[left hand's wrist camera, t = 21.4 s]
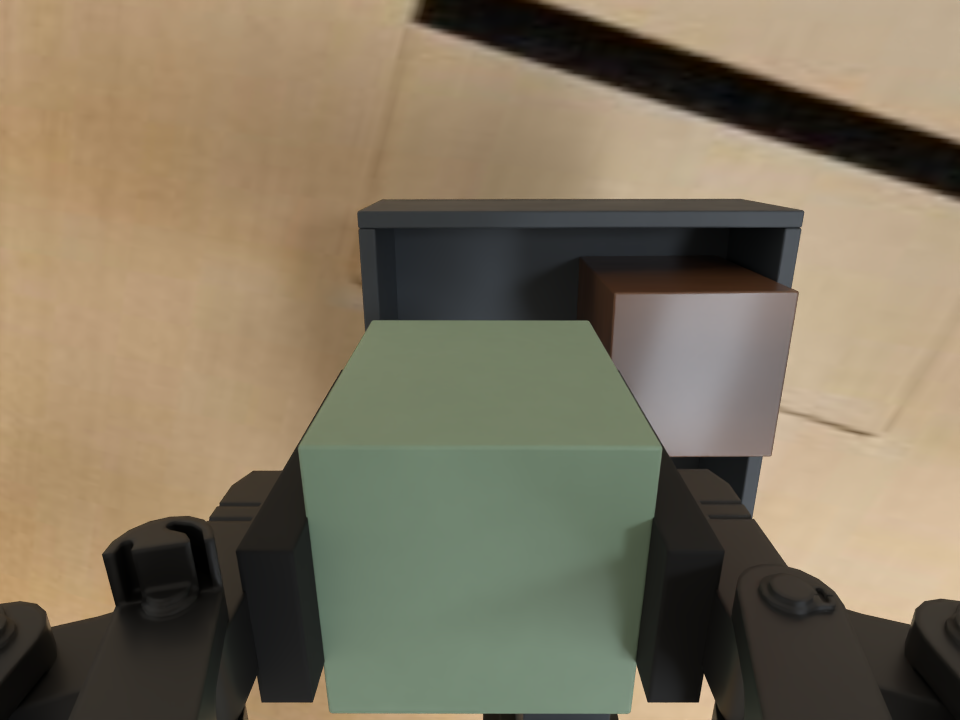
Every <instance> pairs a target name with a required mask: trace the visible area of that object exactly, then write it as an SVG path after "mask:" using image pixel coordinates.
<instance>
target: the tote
mask: <svg viewBox="0 0 960 720" xmlns="http://www.w3.org/2000/svg"><path fill="white" fill-rule="evenodd" d="M357 215H358V227H359V228H360V229H359V245H360V260H361V275H362V291H363V306H364V321H365V332H366V330H367V329H368V327H369V325H370V323H371V322H372V321H373V320H502V321H577V301H578V279H579V258H580V257H581V256H687V255H717V256H719V257H721V258H723V259H726V260H728V261H730V262H732V263H735V264H737V265H739V266H742V267H744V268H746V269H748V270H751V271H753V272H755V273H757V274H760V275H762V276H764V277H767V278H769V279H771V280H773V281H776V282H778V283H780V284H782V285H785V286H787V287H789V288H791V287H792V281H793V275H794V269H795V263H796V258H797V252H798V246H799V240H800V234H801V228H800V227H802V222H803V216H804V211H803V210H798V209H793V208H787V207H782V206H776V205H771V204H765V203H760V202H754V201H749V200H743V199H420V200H380V201H378V202H376V203H374V204H372V205H370V206H368V207H366V208H364V209H362V210H360V211H358V213H357ZM762 457H763V456H745V457H670V458H671V460H672V461H673V463H674V465H675V467H676V468H677V469H708V470H710V471H711V472H713V473H714V474H716V475H717V476H718V477H720V478H721V479H723V480H724V481H726V482H727V483H729V484H730V486H731V487H732V489H733V490H734V492H735V493H736V494H737V496H738V497H739V499H740V500H741V504H744V506H745V507H746V508H747V510H748V511H749V513H750V514H751V518H752V516H753V510H754V504H755V498H756V492H757V486H758V481H759V475H760V469H761V463H762ZM515 718H516V720H610V714H515Z"/></svg>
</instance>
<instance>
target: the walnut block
mask: <svg viewBox="0 0 960 720" xmlns="http://www.w3.org/2000/svg"><path fill="white" fill-rule="evenodd" d="M798 294H799V292H798V291H796V290H794V289H791V288H789V287H787V286H785V285H782V284H780V283H778V282H776V281H773V280H771V279H769V278H767V277H764V276H762V275H760V274H757V273H755V272H753V271H751V270H748V269H746V268H744V267H742V266H739V265H737V264H735V263H732V262H730V261H728V260H726V259H723V258H721V257H719V256H717V255H687V256H581V257H580V258H579V279H578V301H577V321H589V322H590V324H591V325H592V327H593V329H594V330H595V332H596V334H597V336H598V337H599V339H600V341H601V343H602V344H603V346H604V348H605V349H606V351H607V353H608V355H609V356H610V358H611V360H612V361H613V363H614V365H615V367H616V368H617V370H619V371H620V373H621V374H622V376H623V378H624V380H625V381H626V383H627V385H628V386H629V388H630V390H631V392H632V393H633V395H634V397H635V398H636V400H637V402H638V403H639V405H640V407H641V409H642V410H643V412H644V414H645V415H646V417H647V419H648V421H649V422H650V424H651V426H652V427H653V429H654V431H655V432H656V434H657V436H658V438H659V439H660V441H661V443H662V444H663V446H664V448H665V449H666V451H667V453H668V455H669V456H670V457H745V456H771V455H772V449H773V443H774V437H775V431H776V425H777V419H778V413H779V407H780V401H781V395H782V389H783V384H784V378H785V372H786V366H787V360H788V354H789V348H790V342H791V336H792V330H793V324H794V318H795V312H796V306H797V300H798Z"/></svg>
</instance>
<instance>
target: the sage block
mask: <svg viewBox="0 0 960 720" xmlns="http://www.w3.org/2000/svg"><path fill="white" fill-rule="evenodd" d="M298 452H299V461H300V469H301V477H302V486H303V494H304V503H305V511H306V517H308V524H309V533H310V541H311V550H312V558H313V567H314V575H315V584H316V592H317V601H318V609H319V617H320V626H321V634H322V643H323V651H324V660H325V662H324V672H325V680H326V688H327V697H328V705H329V711H330V712H331V713H468V714H628V713H630V712H631V705H632V697H633V689H634V680H635V672H636V656H637V647H638V639H639V631H640V622H641V614H642V605H643V597H644V589H645V580H646V572H647V563H648V555H649V547H650V538H651V530H652V521H653V518H654V515H655V506H656V498H657V490H658V481H659V473H660V465H661V457H662V446H661V444H660V442H659V441H658V439H657V437H656V436H655V434H654V432H653V430H652V429H651V427H650V425H649V424H648V422H647V420H646V418H645V417H644V415H643V413H642V411H641V410H640V408H639V406H638V405H637V403H636V401H635V399H634V398H633V396H632V394H631V393H630V391H629V389H628V387H627V386H626V384H625V382H624V380H623V379H622V377H621V375H620V374H619V372H618V370H617V368H616V367H615V365H614V363H613V361H612V360H611V358H610V356H609V355H608V353H607V351H606V349H605V348H604V346H603V344H602V343H601V341H600V339H599V337H598V336H597V334H596V332H595V330H594V329H593V327H592V325H591V324H590V322H589V321H502V320H373V321H372V322H371V323H370V325H369V327H368V329H367V330H366V332H365V334H364V335H363V337H362V339H361V340H360V342H359V344H358V346H357V347H356V349H355V351H354V352H353V354H352V356H351V358H350V359H349V361H348V363H347V364H346V366H345V368H344V369H343V371H342V373H341V375H340V376H339V378H338V380H337V381H336V383H335V385H334V387H333V388H332V390H331V392H330V393H329V395H328V397H327V398H326V400H325V402H324V404H323V405H322V407H321V409H320V410H319V412H318V414H317V416H316V417H315V419H314V421H313V422H312V424H311V426H310V427H309V429H308V431H307V433H306V434H305V436H304V438H303V439H302V441H301V443H300V445H299V447H298Z"/></svg>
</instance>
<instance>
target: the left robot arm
mask: <svg viewBox="0 0 960 720" xmlns="http://www.w3.org/2000/svg"><path fill="white" fill-rule="evenodd" d="M342 371H343V370H341V372H340V374H339V375H338V377H337V379H336V380H335V382H334V384H333V386H332V387H331V389H330V391H329V392H328V394H327V396H326V397H325V399H324V401H323V403H322V404H321V406H320V408H319V409H318V411H317V413H316V415H315V416H314V418H313V420H312V421H311V423H310V425H309V426H308V428H307V430H306V432H305V433H304V435H303V437H302V438H301V440H300V442H299V443H298V445H297V447H296V449H295V450H294V452H293V454H292V455H291V457H290V459H289V461H288V462H287V464H286V466H285V467H284V469H283V471H252V472H251V473H249V474H248V475H247V476H245V477H244V478H242V479H241V480H239V481H238V482H236V483H235V484H234V485H232V486H231V488H230V489H229V490H228V492H227V493H226V495H225V496H224V498H223V499H222V500H221V502H220V506H217V507H216V509H215V510H214V512H213V513H212V515H211V516H210V517H209V518H210V519H209V521H207V522H206V521H205V520H203V519H199V518H195V517H191V516H178V517H167V518H163V519H158V520H154V521H150V522H147V523H145V524H142V525H140V526H138V527H135V528H133V529H131V530H129V531H127V532H126V533H124V534H123V535H121V536H120V537H119V538H117V539H116V540H114V541H113V542H112V543H111V544H110V545H109V547H108V548H107V549H106V550H105V551H104V553H103V554H102V556H103V560H104V564H105V567H106V571H107V575H108V579H109V582H110V586H111V590H112V594H113V597H114V601H115V605H116V607H115V609H114V612H112V613H109V614H105V615H102V616H98V617H94V618H89V619H85V620H80V621H76V622H72V623H67V624H63V625H58V626H54V627H51V626H50V623H49V620H48V617H47V614H46V611H44V610H43V609H42V608H41V607H40V606H39V605H38V604H35V603H28V602H22V601H18V602H11V603H3V604H0V720H248V715H247V710H246V704H245V703H246V701H247V698H248V696H249V693H250V691H251V688H252V686H253V684H254V681H255V679H256V676H257V678H258V684H259V690H260V696H261V701H262V702H313V700H314V696H315V693H316V690H317V686H318V683H319V679H320V676H321V673H322V669H323V666H324V662H325V660H324V651H323V643H322V634H321V626H320V617H319V609H318V601H317V592H316V584H315V575H314V567H313V558H312V550H311V541H310V533H309V524H308V517H306V511H305V503H304V494H303V486H302V477H301V469H300V461H299V452H298V447H299V445H300V443H301V441H302V439H303V438H304V436H305V434H306V433H307V431H308V429H309V427H310V426H311V424H312V422H313V421H314V419H315V417H316V416H317V414H318V412H319V410H320V409H321V407H322V405H323V404H324V402H325V400H326V398H327V397H328V395H329V393H330V392H331V390H332V388H333V387H334V385H335V383H336V381H337V380H338V378H339V376H340V375H341V373H342ZM618 372H619V374H620V375H621V377H622V379H623V380H624V378H623V376H622V374H621V373H620V371H619V370H618ZM624 382H625V384H626V386H627V387H628V389H629V391H630V393H631V394H632V396H633V398H634V399H635V401H636V403H637V405H638V406H639V408H640V410H641V411H642V413H643V415H644V417H645V418H646V420H647V422H648V424H649V425H650V427H651V429H652V430H653V432H654V434H655V436H656V437H657V439H658V441H659V442H660V444H661V446H662V457H661V465H660V473H659V481H658V490H657V498H656V506H655V515H654V518H653V521H652V530H651V538H650V547H649V555H648V563H647V572H646V580H645V589H644V597H643V605H642V614H641V622H640V631H639V639H638V647H637V656H636V664H637V668H638V671H639V674H640V678H641V681H642V685H643V688H644V691H645V695H646V698H647V702H699V698H700V692H701V687H702V681H703V675H705V677H706V679H707V682H708V684H709V687H710V689H711V691H712V694H713V696H714V699H715V704H714V710H713V715H712V720H960V601H955V600H947V599H936V600H930V601H924V602H923V603H922V604H921V605H920V606H919V607H917V608H916V609H915V612H914V615H913V619H912V622H911V625H909V624H905V623H901V622H896V621H892V620H887V619H883V618H878V617H874V616H869V615H865V614H861V613H857V612H854V611H851V610H847V609H846V608H845V606H844V604H843V603H842V602H841V600H840V599H839V597H838V596H837V594H836V593H835V592H834V591H833V590H832V589H831V588H829V587H828V586H827V585H826V584H824V583H823V582H822V581H820V580H819V579H817V578H815V577H813V576H811V575H809V574H807V573H805V572H803V571H801V570H798V569H794V568H791V567H788V566H787V565H786V563H785V562H784V560H783V559H782V558H781V556H780V555H779V553H778V552H777V551H776V549H775V548H774V546H773V545H772V544H771V542H770V541H769V539H768V538H767V537H766V535H765V534H764V532H763V531H762V530H761V528H760V527H759V525H758V524H757V522H756V521H755V520H754V519H752V518H751V514H750V513H749V511H748V510H747V508H746V507H745V506H744V504H741V500H740V499H739V497H738V496H737V494H736V493H735V492H734V490H733V489H732V487H731V486H730V484H729V483H727V482H726V481H724V480H723V479H721V478H720V477H718V476H717V475H716V474H714V473H713V472H711V471H710V470H708V469H677V468H676V467H675V465H674V463H673V461H672V460H671V458H670V456H669V455H668V453H667V451H666V449H665V448H664V446H663V444H662V443H661V441H660V439H659V438H658V436H657V434H656V432H655V431H654V429H653V427H652V426H651V424H650V422H649V421H648V419H647V417H646V415H645V414H644V412H643V410H642V409H641V407H640V405H639V403H638V402H637V400H636V398H635V397H634V395H633V393H632V392H631V390H630V388H629V386H628V385H627V383H626V381H625V380H624Z"/></svg>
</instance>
